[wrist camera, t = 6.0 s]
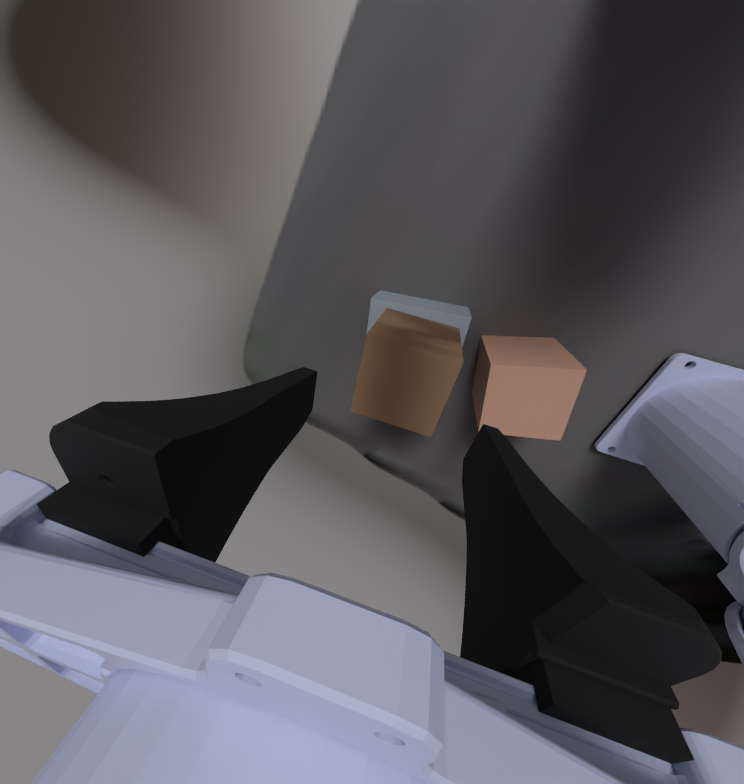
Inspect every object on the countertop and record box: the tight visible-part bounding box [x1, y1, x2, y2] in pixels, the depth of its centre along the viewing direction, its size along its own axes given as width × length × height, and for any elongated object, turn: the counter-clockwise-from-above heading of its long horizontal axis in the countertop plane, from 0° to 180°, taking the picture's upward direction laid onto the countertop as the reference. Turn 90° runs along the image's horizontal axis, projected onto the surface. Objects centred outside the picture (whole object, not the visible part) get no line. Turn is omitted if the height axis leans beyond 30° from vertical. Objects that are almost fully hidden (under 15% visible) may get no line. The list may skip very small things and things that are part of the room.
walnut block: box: [350, 308, 464, 437], centre depth 16 cm, size 4×4×5 cm
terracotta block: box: [472, 335, 587, 441], centre depth 18 cm, size 4×4×5 cm
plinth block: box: [366, 291, 472, 346], centre depth 19 cm, size 6×6×3 cm
